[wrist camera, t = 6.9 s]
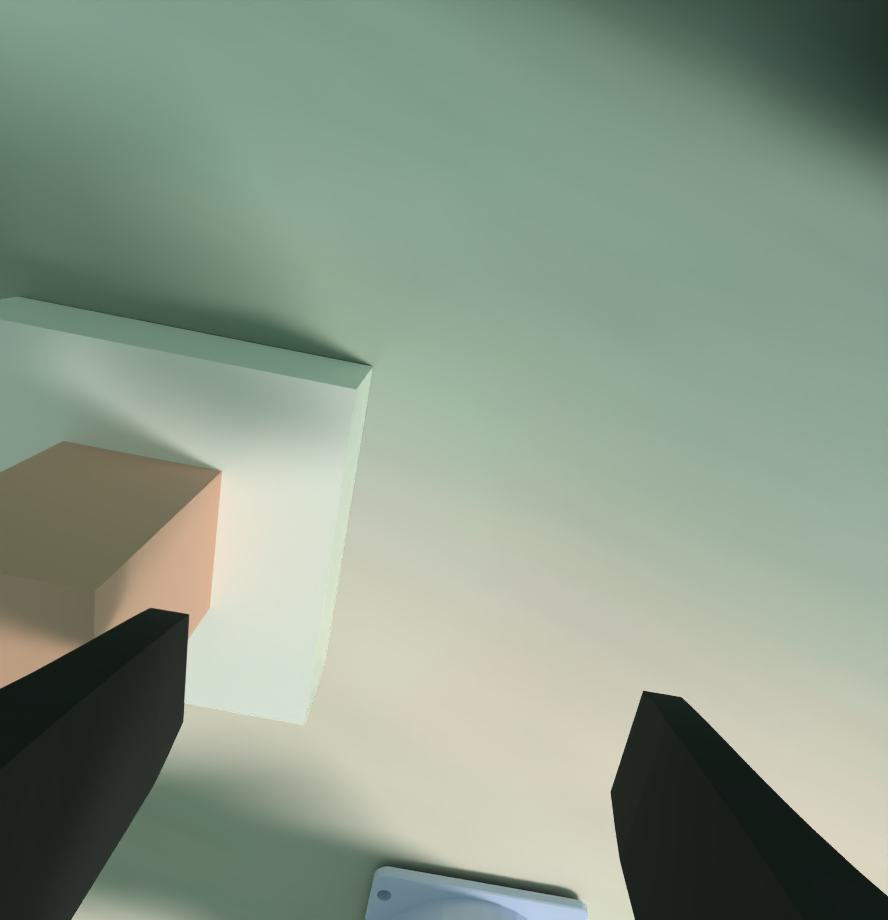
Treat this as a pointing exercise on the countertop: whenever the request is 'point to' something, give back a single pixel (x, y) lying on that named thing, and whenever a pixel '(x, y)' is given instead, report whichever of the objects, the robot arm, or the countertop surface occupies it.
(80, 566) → the block
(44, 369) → the slab
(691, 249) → the countertop surface
